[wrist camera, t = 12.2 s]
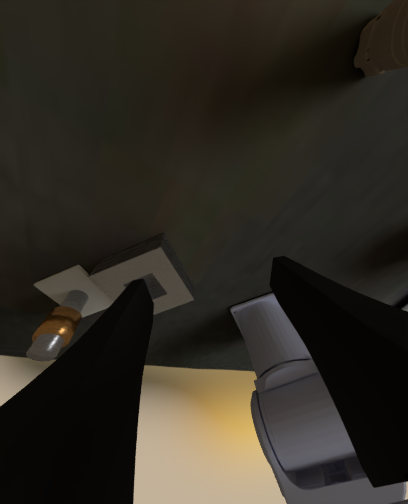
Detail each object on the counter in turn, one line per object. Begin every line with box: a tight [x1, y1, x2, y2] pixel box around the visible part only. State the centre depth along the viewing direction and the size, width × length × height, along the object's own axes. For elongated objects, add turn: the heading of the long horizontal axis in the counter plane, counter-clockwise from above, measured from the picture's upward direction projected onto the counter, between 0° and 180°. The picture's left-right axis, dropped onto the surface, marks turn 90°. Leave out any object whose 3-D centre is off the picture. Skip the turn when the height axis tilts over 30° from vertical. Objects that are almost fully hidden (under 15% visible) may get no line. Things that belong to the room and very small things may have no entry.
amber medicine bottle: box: [26, 290, 88, 361], centre depth 18 cm, size 3×3×7 cm
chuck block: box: [88, 233, 194, 315], centre depth 20 cm, size 8×8×3 cm
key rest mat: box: [34, 265, 114, 317], centre depth 21 cm, size 7×6×1 cm
